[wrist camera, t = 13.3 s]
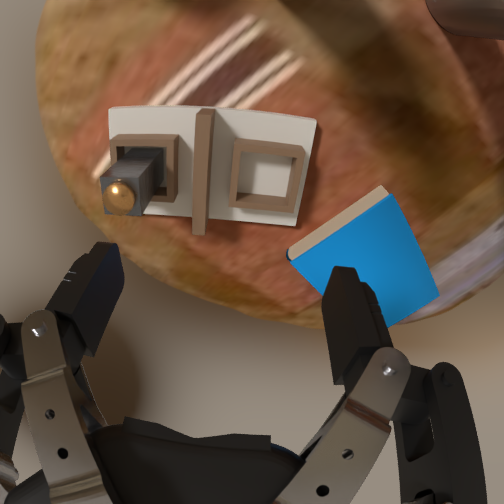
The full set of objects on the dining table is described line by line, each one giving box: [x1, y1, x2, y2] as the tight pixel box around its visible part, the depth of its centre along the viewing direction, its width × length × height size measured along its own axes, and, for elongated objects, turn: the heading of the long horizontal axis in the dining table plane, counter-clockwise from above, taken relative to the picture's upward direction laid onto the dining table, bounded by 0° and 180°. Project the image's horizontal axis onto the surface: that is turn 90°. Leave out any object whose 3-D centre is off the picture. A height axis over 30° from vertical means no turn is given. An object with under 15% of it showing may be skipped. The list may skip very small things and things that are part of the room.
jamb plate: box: [109, 105, 317, 235], centre depth 32 cm, size 24×14×6 cm, turn 83°
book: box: [286, 185, 440, 328], centre depth 44 cm, size 17×4×25 cm
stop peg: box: [100, 148, 164, 216], centre depth 29 cm, size 4×4×10 cm
